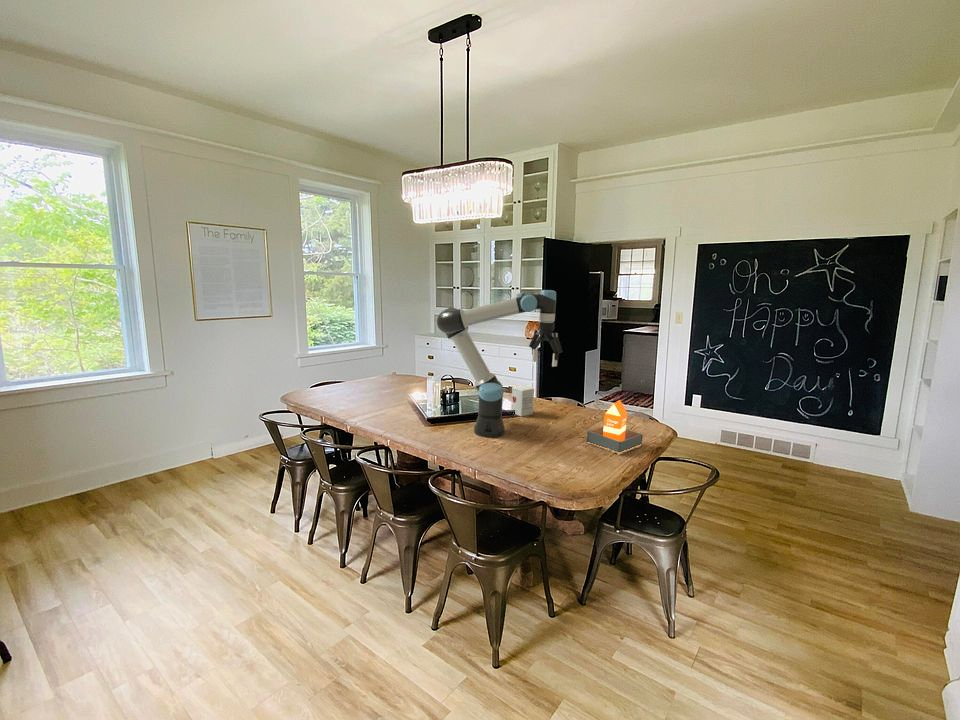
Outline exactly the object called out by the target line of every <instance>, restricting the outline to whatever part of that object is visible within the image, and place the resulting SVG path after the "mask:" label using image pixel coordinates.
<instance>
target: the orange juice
mask: <svg viewBox="0 0 960 720" xmlns="http://www.w3.org/2000/svg"><path fill="white" fill-rule="evenodd" d="M603 419H604V420H603V421H604V422H603V426H604V428H603V436H606V437H609V438H611V439H614V440H617V441H623V440H625V430H626V429H627V419H628V412H627V410H626V408H625V406H624V404H623V403H622V401H621V399H619V400H617V401H616V402H614V403H613V404H612V405H611V406H610V407H609V408H608V409H607V410H606V412H604V417H603Z"/></svg>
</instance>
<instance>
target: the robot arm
mask: <svg viewBox="0 0 960 720" xmlns="http://www.w3.org/2000/svg"><path fill="white" fill-rule="evenodd" d="M556 306H557V291H555V290H552V289H549V290H548V289H542V290H540V293H538V294H537V293H523V292H522V293H516V297H514V298H513V297H512V298H508V299H505V300H502V301H497V302H493V303H488V304H484V305H481V306H477V307H472V308H469V309H463V308H459V309H458V308H455V307H448V308H445V309H444V310H443V311H441V312H440V313H439V314H438V316H437V318H436V325H437V328H438V329H439V331H441V332H442V333H444V334H445V336H446V337H447V339H448V340H450V341H453V343H454V345H455V346H456V348H457V351H458V353H459V354H460V355H461V358H462V359H463V361H464V363H465V364H466V367H467V368H468V370H469V372H470V373H471V375H472V377H473V379H474V380H475V382H474V383H475V384H474V386H475V388H476V390H477V392H478V406H477V407H478V409H477V410H478V412H477V415H478V416H477V418H476V421H475V425H474V426H473V433H474V434H475V435H478V436H480V437H485V438H497V437H502V436H504V435H505V432H506V427H505V424H504V421H503V401H504V399H503V398H504V387H503V385H502V383H501V382H500V381H499V380H498V378H497V376H496V374H494V373H492V372H490V370H489V367H488V366H487V365H486V363H485V361H484V359H483V357H482V355H481V354H480V352H479V350H478V347H476V344H475V343H474V341H473V339H472V337H471V336H470V334H469V326H473V325H474V326H475V325H477V324H481V323H485V322H489V321H494V320H498V319H503V318H506V317H510V316H513V315H514V316H515V315H519V314H523V313H528V312H529V313H531V312H533V311H535V310H539V319H538V320H539V323H538V329H535V330H534V334H533V336H532V338H531V340H530V343H529V345H528V346H529V348H531V355H532V357H531V358H532V360H531V361H532V363H534V362H535V363H537V362H538V347H539V345H540V344H541V343H542V342H543V341H546V342H548V343H549V345H550V347H551V349H552V351H553V353H552V362H551V367H552V368H553V367H558V360H559V358H560V353H563V348H562V345H561V342H560V338H559V333H558V332H554V330H555V320H556Z"/></svg>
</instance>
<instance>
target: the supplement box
mask: <svg viewBox="0 0 960 720" xmlns="http://www.w3.org/2000/svg"><path fill="white" fill-rule="evenodd" d="M534 394H535V388H533V387H530V386H527V385H524V384H522V385H516V386H512V388H511V403H510V404H511V406H510V410H511V409H513V410H515V414H514V415H517V417H520V418H521V417H525V416H530V415H531V416H532V415H533V413H534V412H533V411H534Z"/></svg>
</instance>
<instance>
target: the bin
mask: <svg viewBox="0 0 960 720" xmlns="http://www.w3.org/2000/svg"><path fill="white" fill-rule="evenodd" d="M603 428H604V425H602V426H600V427H597V428H592V429H590V430H587V435H586V437H587V438H586V443H587V442H590V443H593V444H596V445H599V446H602V447H605V448H609V449H611V450H614V451H617V452H622V451H624V450H627V449H630V448H632V447H635V446H637V445H640V444H642V443H643V435H644V434H642V433H639V432H636V431H633V430H630V429H627V428H626V430H625V440H623V441H617V440H614V439H611V438H609V437H606V436H603Z"/></svg>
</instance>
